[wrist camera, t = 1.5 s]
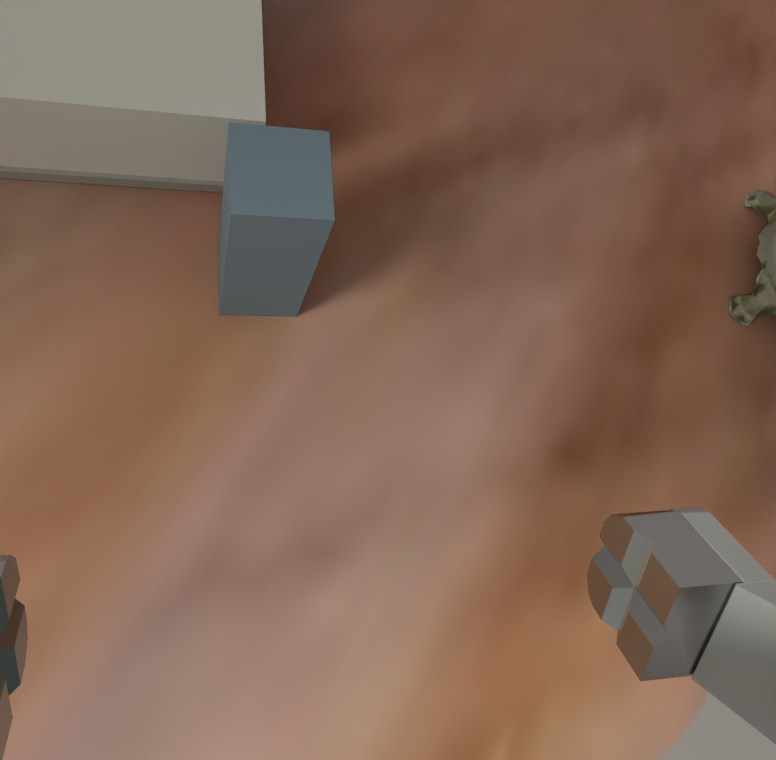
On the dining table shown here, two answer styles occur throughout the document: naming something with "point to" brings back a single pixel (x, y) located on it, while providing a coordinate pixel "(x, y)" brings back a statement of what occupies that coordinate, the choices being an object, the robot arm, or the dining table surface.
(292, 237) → the grey tall block
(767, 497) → the dining table surface
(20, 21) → the riser
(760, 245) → the samovar
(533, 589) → the dining table surface
